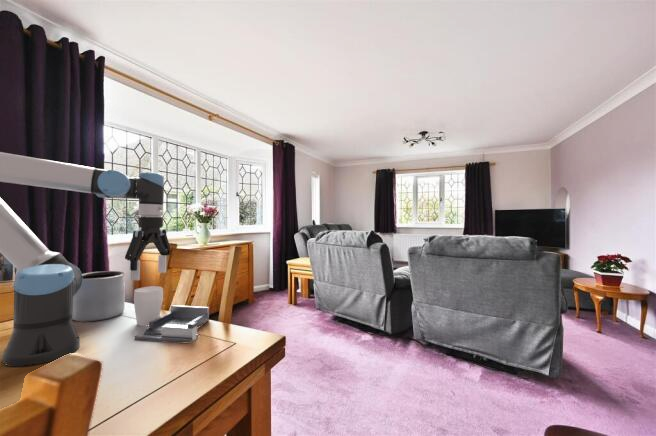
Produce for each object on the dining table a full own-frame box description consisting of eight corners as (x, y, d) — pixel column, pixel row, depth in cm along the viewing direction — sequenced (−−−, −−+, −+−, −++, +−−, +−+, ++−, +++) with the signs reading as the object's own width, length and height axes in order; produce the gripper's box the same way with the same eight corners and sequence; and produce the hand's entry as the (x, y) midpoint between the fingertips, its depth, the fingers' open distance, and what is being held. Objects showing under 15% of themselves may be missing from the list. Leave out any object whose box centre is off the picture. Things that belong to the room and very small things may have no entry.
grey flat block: (161, 339, 92) (161, 322, 92) (166, 336, 94) (166, 320, 94) (192, 341, 91) (192, 324, 91) (196, 338, 93) (196, 322, 93)
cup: (126, 326, 102) (127, 291, 102) (146, 317, 111) (147, 285, 111) (149, 328, 101) (150, 293, 101) (168, 319, 110) (169, 287, 110)
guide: (134, 339, 91) (134, 336, 91) (145, 333, 96) (145, 330, 96) (190, 343, 90) (190, 340, 90) (198, 337, 94) (198, 334, 94)
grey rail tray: (145, 333, 96) (146, 317, 96) (172, 319, 110) (173, 305, 110) (186, 336, 95) (187, 319, 95) (208, 321, 109) (209, 307, 109)
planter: (134, 311, 118) (135, 272, 118) (94, 325, 103) (95, 280, 103) (102, 307, 122) (103, 269, 122) (58, 320, 106) (59, 277, 106)
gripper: (134, 216, 93) (132, 284, 93) (181, 217, 118) (180, 270, 118) (112, 215, 94) (110, 283, 94) (164, 216, 119) (162, 269, 119)
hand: (149, 276), depth 106 cm, fingers open, 13 cm apart
